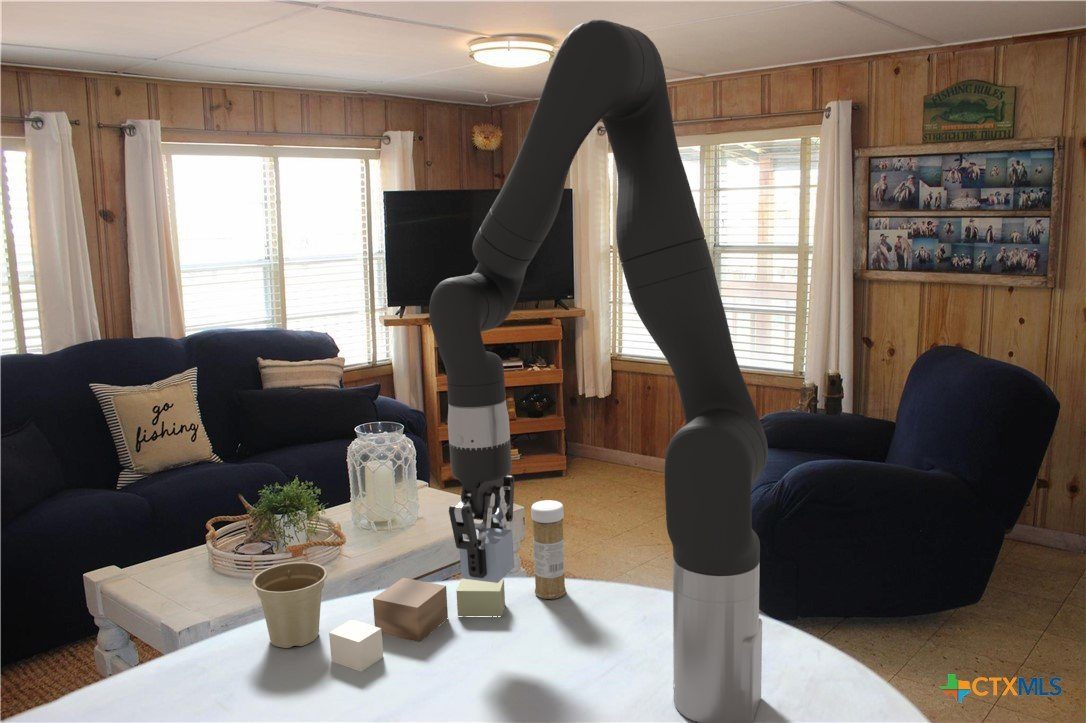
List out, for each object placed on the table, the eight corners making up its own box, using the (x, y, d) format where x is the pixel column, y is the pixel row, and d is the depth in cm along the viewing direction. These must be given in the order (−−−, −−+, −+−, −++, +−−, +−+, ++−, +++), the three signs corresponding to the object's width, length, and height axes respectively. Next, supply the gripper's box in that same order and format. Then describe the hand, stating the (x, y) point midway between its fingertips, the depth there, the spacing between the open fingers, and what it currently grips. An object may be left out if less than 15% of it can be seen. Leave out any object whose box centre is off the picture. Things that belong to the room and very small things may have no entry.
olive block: (505, 605, 126) (503, 578, 125) (501, 618, 122) (500, 591, 122) (463, 604, 127) (461, 578, 126) (457, 618, 123) (456, 590, 122)
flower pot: (341, 621, 123) (336, 562, 121) (317, 656, 113) (312, 592, 112) (275, 620, 124) (269, 561, 122) (246, 655, 114) (240, 591, 113)
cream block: (383, 657, 113) (381, 628, 112) (360, 672, 110) (358, 642, 109) (354, 648, 116) (351, 619, 115) (331, 662, 112) (329, 632, 111)
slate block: (514, 567, 115) (512, 529, 114) (497, 583, 110) (495, 544, 109) (479, 562, 117) (476, 526, 116) (461, 578, 112) (458, 540, 111)
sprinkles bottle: (561, 584, 132) (559, 497, 129) (569, 598, 127) (566, 508, 125) (531, 588, 131) (528, 500, 128) (538, 602, 126) (534, 511, 124)
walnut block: (448, 620, 122) (446, 585, 122) (419, 643, 116) (417, 607, 115) (405, 611, 125) (403, 577, 125) (375, 633, 119) (372, 598, 118)
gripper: (480, 455, 102) (490, 595, 105) (530, 424, 115) (537, 549, 118) (423, 451, 105) (434, 587, 108) (478, 421, 118) (486, 544, 121)
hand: (488, 567), depth 113 cm, fingers closed on slate block, 5 cm apart
